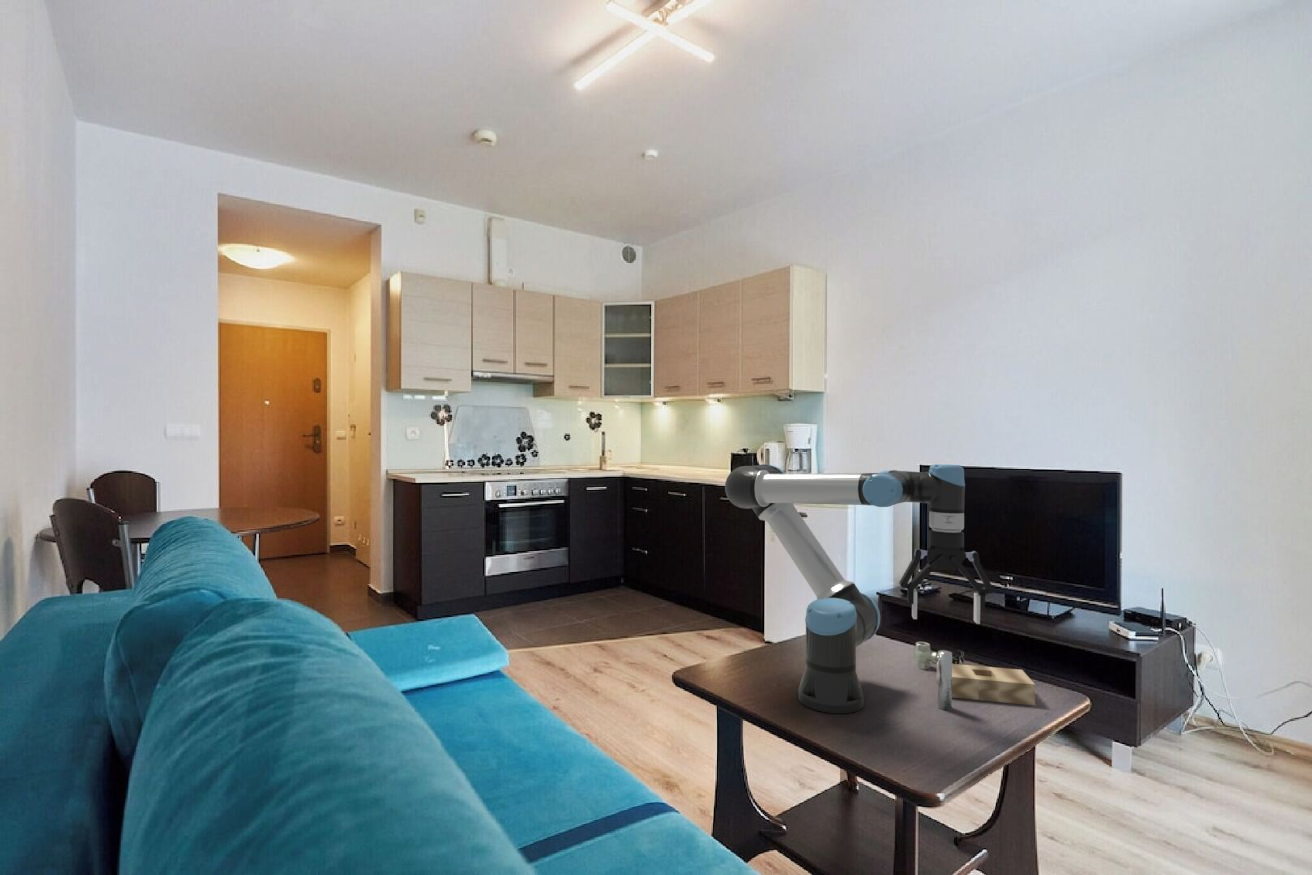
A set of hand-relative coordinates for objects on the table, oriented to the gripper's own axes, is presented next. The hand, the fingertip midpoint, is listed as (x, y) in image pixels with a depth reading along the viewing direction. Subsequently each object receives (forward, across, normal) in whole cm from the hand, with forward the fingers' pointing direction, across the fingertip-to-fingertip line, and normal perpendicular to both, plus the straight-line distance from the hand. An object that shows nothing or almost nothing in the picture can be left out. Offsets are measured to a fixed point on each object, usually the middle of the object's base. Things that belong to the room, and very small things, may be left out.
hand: (945, 620), depth 149 cm
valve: (+21, +3, +26) cm, 33 cm away
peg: (+20, 0, 0) cm, 21 cm away
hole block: (+20, +11, +12) cm, 26 cm away
